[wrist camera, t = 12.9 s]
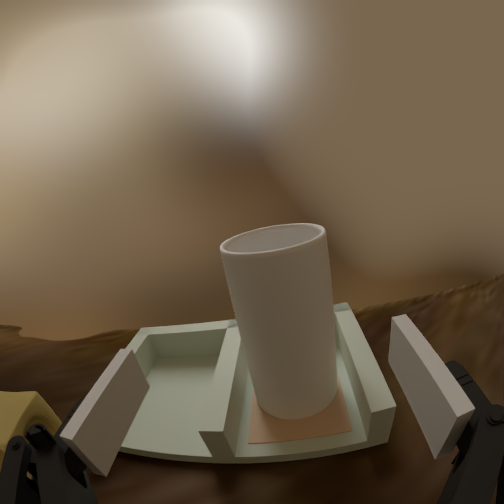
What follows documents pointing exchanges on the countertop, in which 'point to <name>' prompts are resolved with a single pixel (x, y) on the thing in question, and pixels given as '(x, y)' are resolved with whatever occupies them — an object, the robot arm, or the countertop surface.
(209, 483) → the countertop surface
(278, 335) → the cup
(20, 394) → the cheese
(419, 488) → the countertop surface
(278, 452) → the tray
